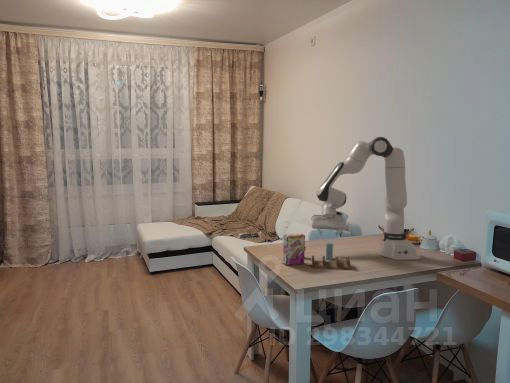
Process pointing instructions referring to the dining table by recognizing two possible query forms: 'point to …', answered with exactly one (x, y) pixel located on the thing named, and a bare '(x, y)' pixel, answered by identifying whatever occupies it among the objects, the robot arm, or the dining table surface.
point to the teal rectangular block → (329, 251)
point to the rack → (331, 264)
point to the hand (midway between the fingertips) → (328, 234)
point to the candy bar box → (293, 249)
